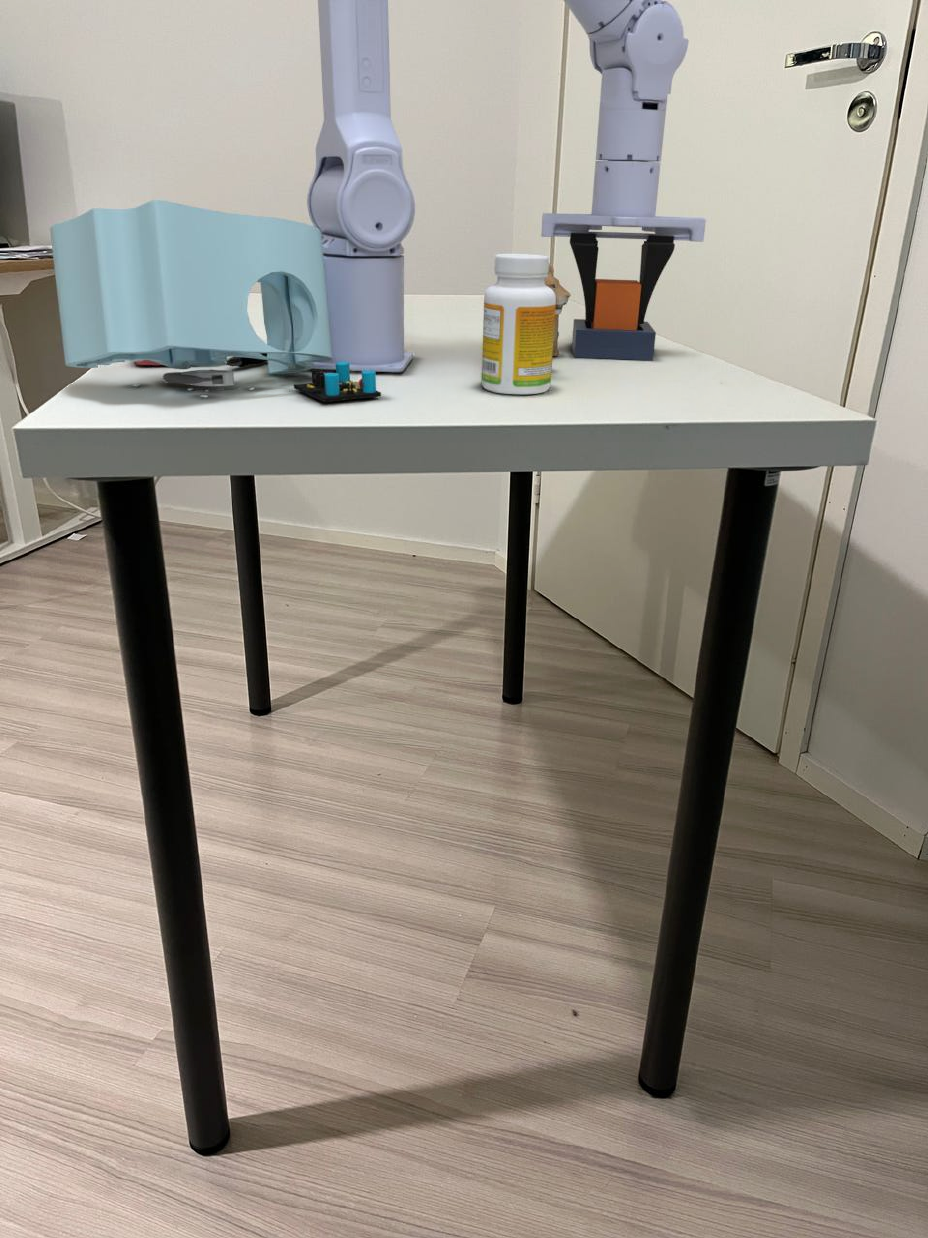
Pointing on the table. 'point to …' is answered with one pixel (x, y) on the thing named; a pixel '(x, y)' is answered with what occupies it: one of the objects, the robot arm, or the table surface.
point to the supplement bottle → (518, 326)
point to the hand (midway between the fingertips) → (613, 321)
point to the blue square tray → (613, 342)
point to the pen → (245, 361)
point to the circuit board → (340, 385)
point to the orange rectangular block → (616, 304)
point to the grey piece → (201, 377)
